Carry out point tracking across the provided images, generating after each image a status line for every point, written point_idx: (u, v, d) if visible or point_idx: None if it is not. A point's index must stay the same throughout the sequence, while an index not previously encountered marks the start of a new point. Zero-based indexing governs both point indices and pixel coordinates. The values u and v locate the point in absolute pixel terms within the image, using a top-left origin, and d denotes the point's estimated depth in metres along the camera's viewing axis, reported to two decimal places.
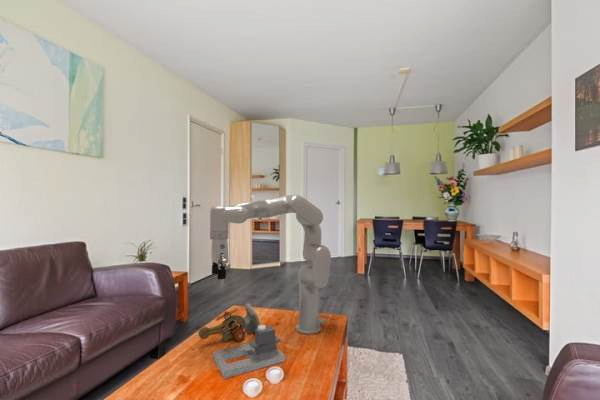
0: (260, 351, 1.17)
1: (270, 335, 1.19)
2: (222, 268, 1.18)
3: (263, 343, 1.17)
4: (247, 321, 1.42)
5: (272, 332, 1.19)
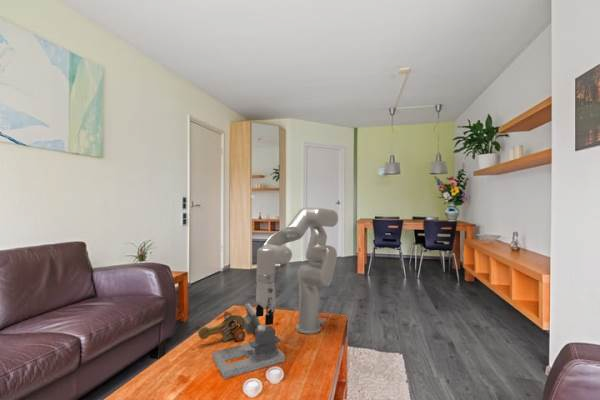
0: (260, 351, 1.17)
1: (270, 335, 1.19)
2: (270, 314, 1.14)
3: (263, 343, 1.17)
4: (247, 321, 1.42)
5: (272, 332, 1.19)
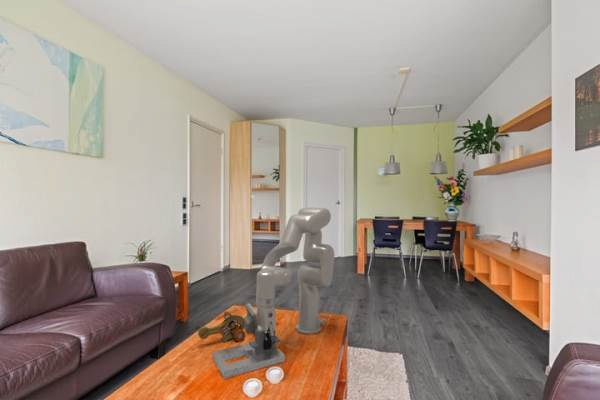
0: (260, 351, 1.17)
1: None
2: (268, 339, 1.16)
3: (263, 343, 1.17)
4: (247, 321, 1.42)
5: None
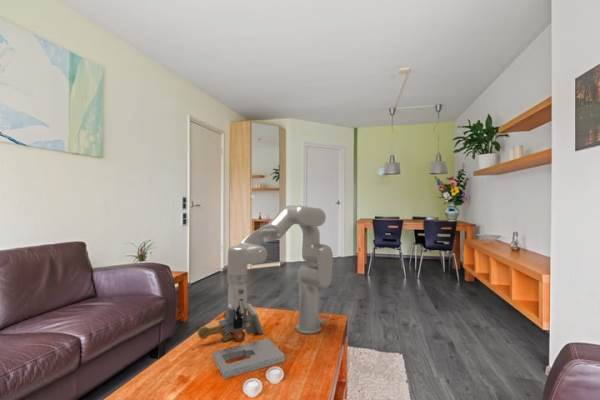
0: (230, 330, 1.10)
1: None
2: (239, 317, 1.10)
3: (233, 322, 1.11)
4: None
5: None
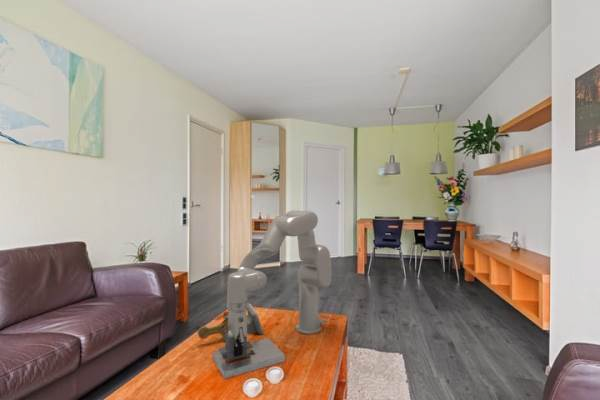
0: (230, 358, 1.11)
1: None
2: (239, 345, 1.10)
3: (233, 349, 1.11)
4: (248, 321, 1.42)
5: None
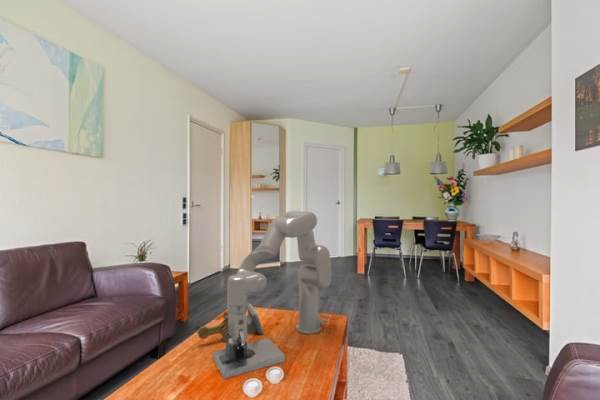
0: None
1: None
2: (240, 347, 1.09)
3: (234, 357, 1.11)
4: (248, 321, 1.42)
5: (244, 345, 1.13)
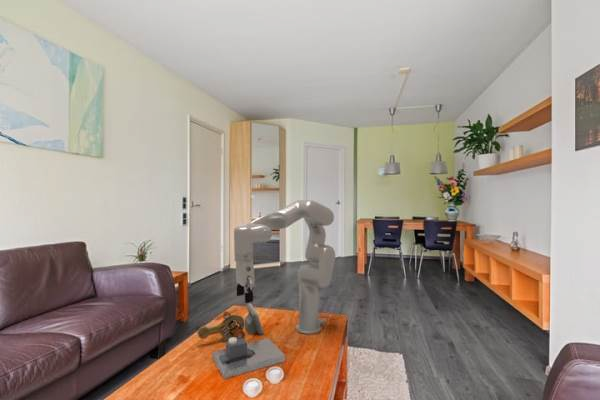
0: None
1: (242, 348, 1.13)
2: (249, 291, 1.14)
3: (234, 357, 1.11)
4: (248, 321, 1.42)
5: (244, 345, 1.13)
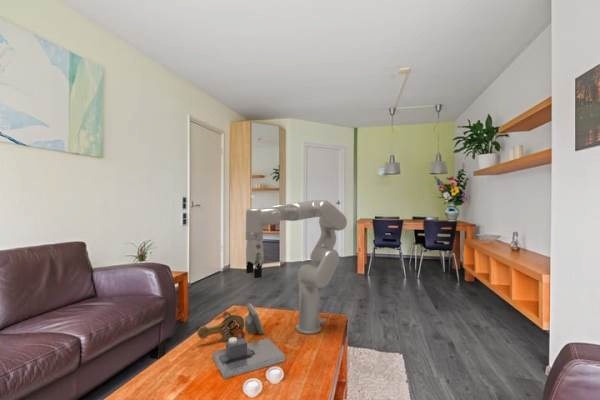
0: None
1: (242, 348, 1.13)
2: (259, 267, 1.24)
3: (234, 357, 1.11)
4: (248, 321, 1.42)
5: (244, 345, 1.13)
